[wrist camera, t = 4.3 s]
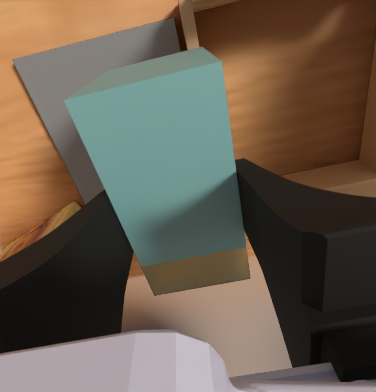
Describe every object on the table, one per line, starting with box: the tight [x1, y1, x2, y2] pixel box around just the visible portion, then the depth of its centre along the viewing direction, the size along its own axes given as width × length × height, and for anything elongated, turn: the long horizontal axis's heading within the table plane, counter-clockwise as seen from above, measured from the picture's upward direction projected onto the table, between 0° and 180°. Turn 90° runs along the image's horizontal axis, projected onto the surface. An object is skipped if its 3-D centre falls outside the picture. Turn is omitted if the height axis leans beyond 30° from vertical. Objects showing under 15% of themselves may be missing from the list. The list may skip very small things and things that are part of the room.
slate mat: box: [12, 17, 181, 205], centre depth 19 cm, size 10×12×1 cm
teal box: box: [64, 47, 250, 296], centre depth 12 cm, size 4×9×6 cm, turn 13°
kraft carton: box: [178, 0, 376, 240], centre depth 15 cm, size 12×13×6 cm
